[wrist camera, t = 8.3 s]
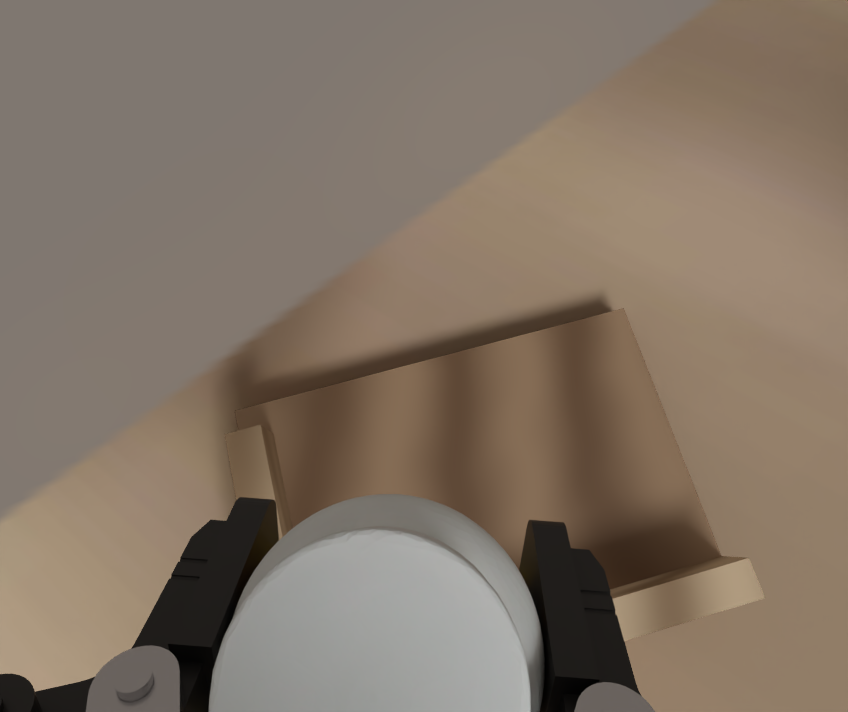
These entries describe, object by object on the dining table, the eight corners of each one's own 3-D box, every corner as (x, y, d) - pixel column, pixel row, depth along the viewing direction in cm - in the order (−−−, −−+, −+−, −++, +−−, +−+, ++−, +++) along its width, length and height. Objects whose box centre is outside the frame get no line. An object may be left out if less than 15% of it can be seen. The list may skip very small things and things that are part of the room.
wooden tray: (616, 316, 32) (639, 289, 28) (723, 590, 28) (765, 598, 24) (241, 415, 30) (218, 399, 27) (299, 719, 26) (280, 746, 23)
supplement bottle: (526, 560, 17) (653, 579, 8) (451, 763, 15) (497, 1081, 6) (353, 481, 18) (281, 412, 8) (264, 668, 16) (61, 833, 7)
